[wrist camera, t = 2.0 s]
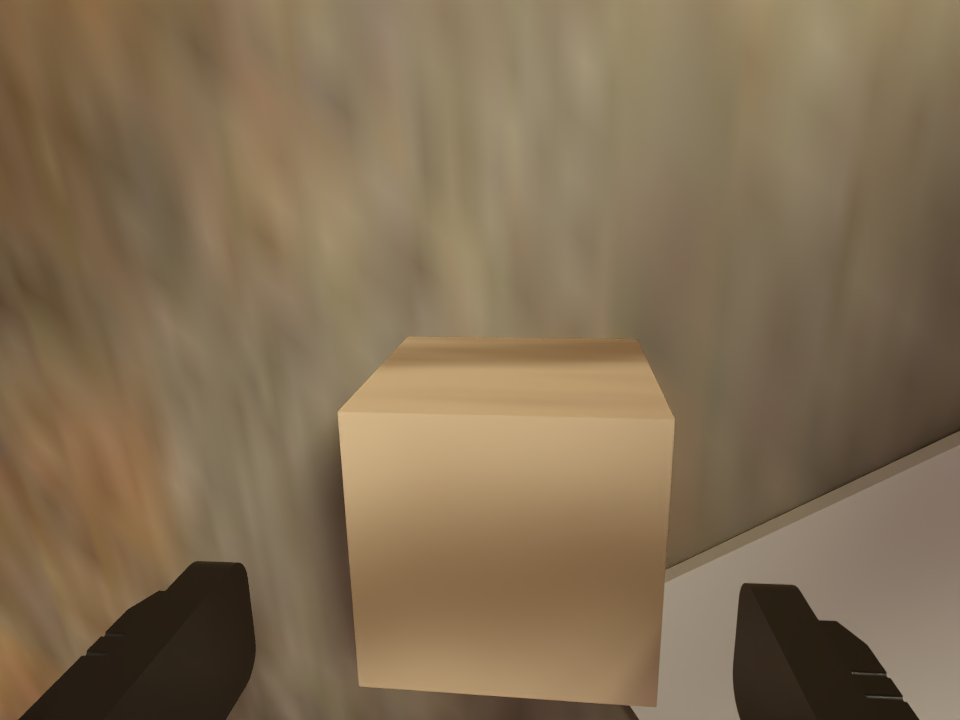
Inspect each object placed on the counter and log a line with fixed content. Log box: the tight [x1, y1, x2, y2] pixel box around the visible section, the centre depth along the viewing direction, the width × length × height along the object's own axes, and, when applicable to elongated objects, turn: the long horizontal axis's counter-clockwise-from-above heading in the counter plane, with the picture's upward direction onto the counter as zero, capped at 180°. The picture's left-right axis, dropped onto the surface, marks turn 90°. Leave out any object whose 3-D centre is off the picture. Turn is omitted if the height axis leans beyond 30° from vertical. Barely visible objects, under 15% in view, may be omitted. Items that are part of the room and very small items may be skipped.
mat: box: [630, 431, 960, 720], centre depth 17 cm, size 11×10×1 cm
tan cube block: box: [338, 337, 675, 707], centre depth 14 cm, size 6×6×6 cm
